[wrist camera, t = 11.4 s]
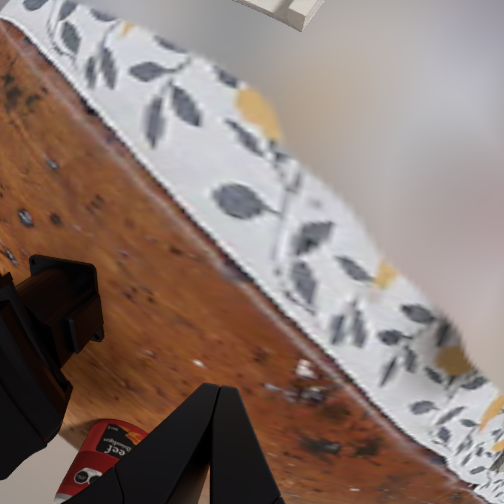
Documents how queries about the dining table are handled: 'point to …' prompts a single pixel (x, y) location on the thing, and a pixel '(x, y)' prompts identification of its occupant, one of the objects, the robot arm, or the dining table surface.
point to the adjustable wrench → (500, 464)
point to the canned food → (98, 455)
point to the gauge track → (286, 10)
